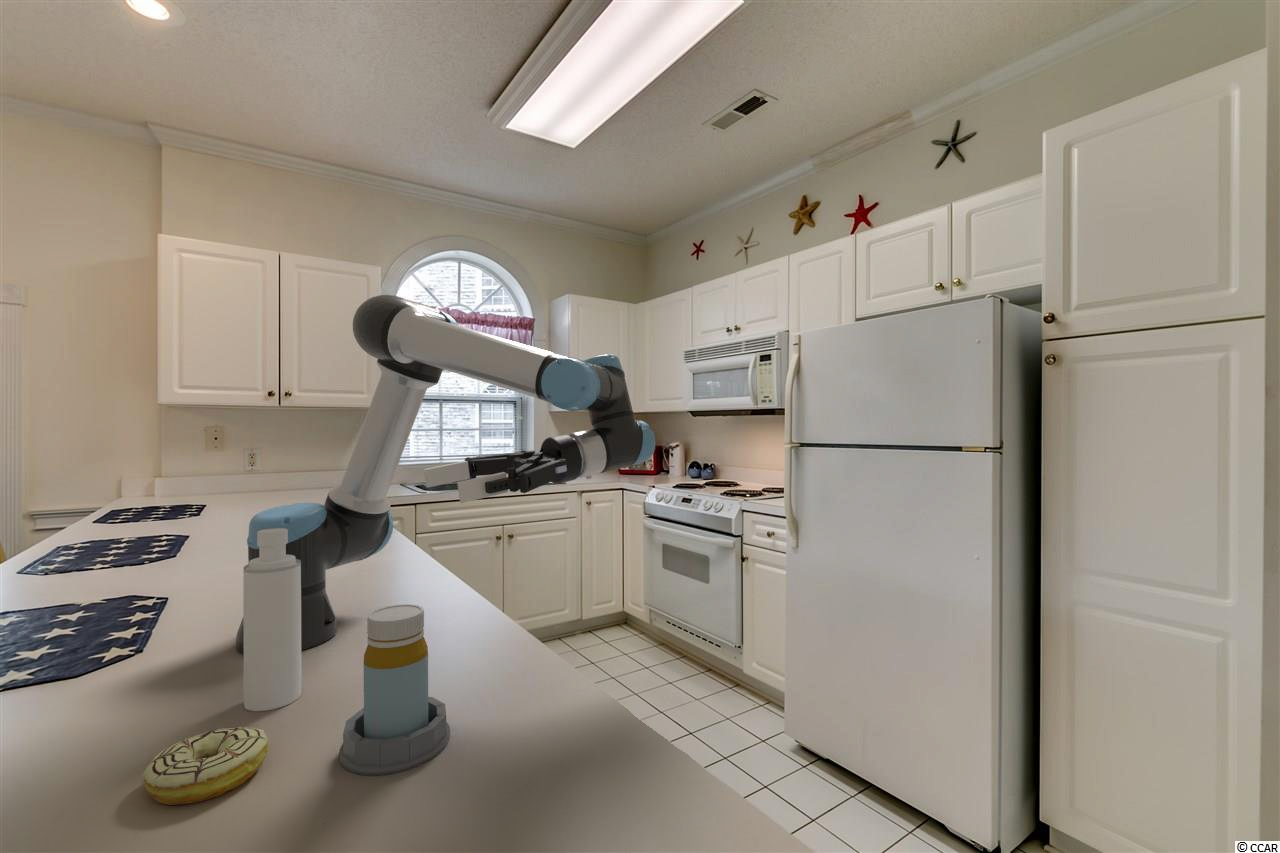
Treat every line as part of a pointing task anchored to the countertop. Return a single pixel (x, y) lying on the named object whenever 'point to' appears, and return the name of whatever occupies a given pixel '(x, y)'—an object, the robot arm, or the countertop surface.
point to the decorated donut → (205, 765)
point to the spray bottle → (272, 624)
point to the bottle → (395, 672)
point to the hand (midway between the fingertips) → (441, 485)
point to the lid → (393, 744)
